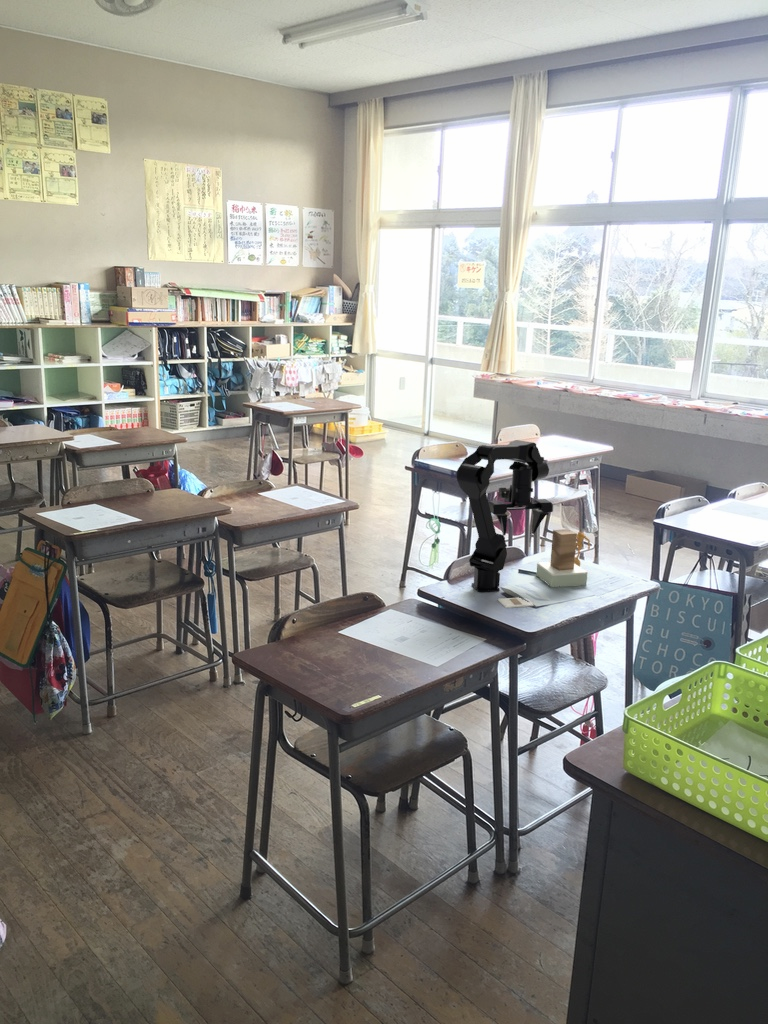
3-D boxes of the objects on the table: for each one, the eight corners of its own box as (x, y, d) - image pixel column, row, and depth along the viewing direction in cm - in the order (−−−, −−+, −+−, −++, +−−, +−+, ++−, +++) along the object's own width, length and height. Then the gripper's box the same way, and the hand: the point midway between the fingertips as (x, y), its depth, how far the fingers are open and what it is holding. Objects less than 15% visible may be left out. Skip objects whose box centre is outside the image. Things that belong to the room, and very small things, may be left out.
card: (505, 607, 220) (505, 606, 220) (497, 600, 225) (498, 598, 225) (533, 606, 222) (533, 604, 221) (524, 598, 227) (524, 596, 227)
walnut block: (573, 569, 241) (576, 533, 238) (558, 570, 239) (561, 534, 237) (565, 564, 245) (567, 529, 243) (550, 565, 244) (553, 530, 241)
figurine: (558, 567, 255) (561, 530, 252) (569, 564, 259) (572, 527, 256) (581, 574, 249) (584, 536, 246) (592, 570, 253) (595, 533, 250)
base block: (551, 587, 237) (552, 574, 236) (536, 575, 247) (537, 562, 246) (586, 585, 239) (587, 572, 238) (569, 573, 250) (570, 560, 249)
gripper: (540, 476, 249) (536, 526, 253) (482, 478, 245) (479, 528, 249) (555, 484, 238) (551, 535, 242) (495, 486, 234) (492, 538, 238)
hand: (518, 534), depth 243 cm, fingers open, 9 cm apart
